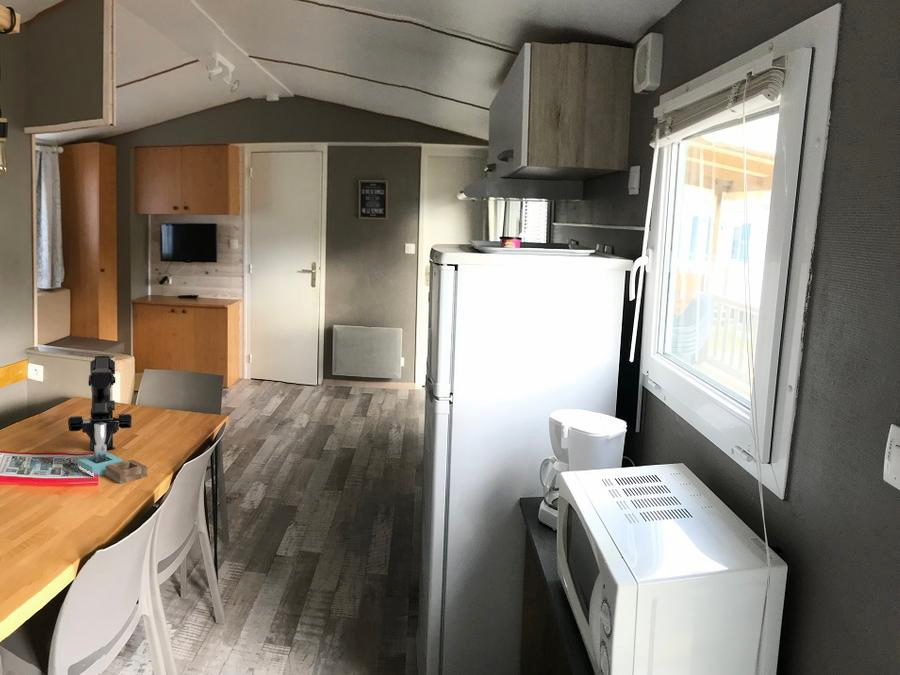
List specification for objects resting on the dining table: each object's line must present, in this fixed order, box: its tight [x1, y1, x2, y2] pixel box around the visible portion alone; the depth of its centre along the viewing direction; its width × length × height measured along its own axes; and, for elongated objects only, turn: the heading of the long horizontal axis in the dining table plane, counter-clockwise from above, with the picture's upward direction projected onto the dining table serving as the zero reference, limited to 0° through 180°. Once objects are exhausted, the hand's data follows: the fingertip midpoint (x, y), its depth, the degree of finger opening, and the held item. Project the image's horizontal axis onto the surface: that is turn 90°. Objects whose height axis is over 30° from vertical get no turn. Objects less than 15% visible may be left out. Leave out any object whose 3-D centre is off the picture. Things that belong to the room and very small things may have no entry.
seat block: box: [77, 452, 124, 477], centre depth 219 cm, size 10×10×4 cm
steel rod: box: [93, 422, 108, 464], centre depth 218 cm, size 4×4×14 cm
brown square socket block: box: [105, 458, 148, 484], centre depth 215 cm, size 9×9×4 cm
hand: (100, 445), depth 217 cm, fingers closed on steel rod, 4 cm apart
